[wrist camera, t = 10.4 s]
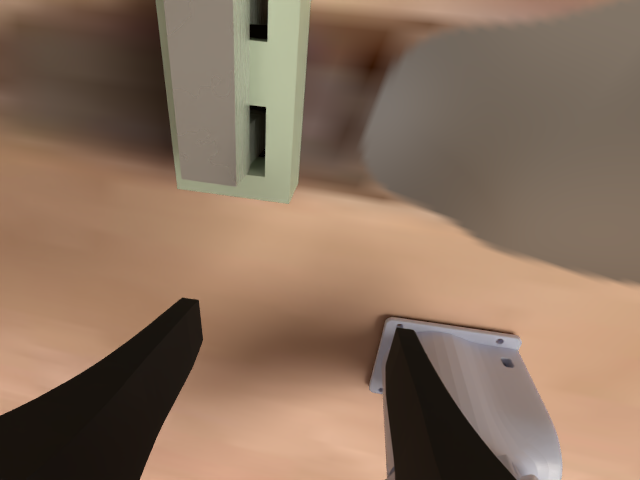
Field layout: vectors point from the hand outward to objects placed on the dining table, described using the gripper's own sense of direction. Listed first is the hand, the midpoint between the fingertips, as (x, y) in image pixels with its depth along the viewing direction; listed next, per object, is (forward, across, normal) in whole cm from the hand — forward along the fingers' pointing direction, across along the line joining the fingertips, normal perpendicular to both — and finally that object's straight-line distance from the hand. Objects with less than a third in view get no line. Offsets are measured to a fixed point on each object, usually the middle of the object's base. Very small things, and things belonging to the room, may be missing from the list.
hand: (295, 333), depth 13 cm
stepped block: (+11, +4, -7) cm, 14 cm away
